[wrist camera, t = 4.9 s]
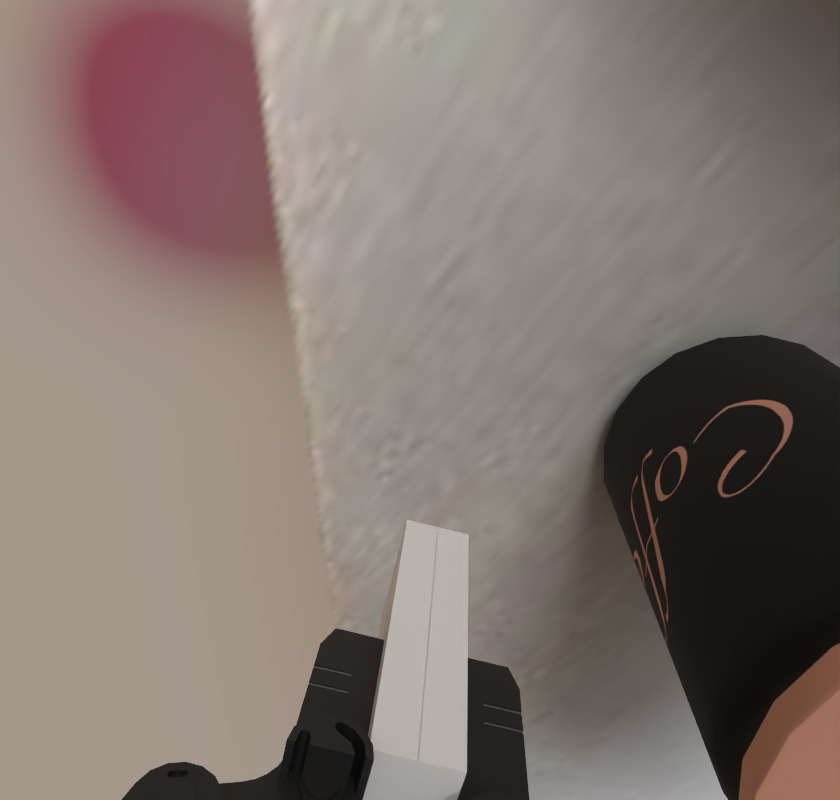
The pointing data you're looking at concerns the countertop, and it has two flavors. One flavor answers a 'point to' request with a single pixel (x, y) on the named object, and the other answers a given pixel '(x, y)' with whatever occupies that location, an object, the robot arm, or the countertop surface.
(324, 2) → the countertop surface
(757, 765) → the coffee jar
